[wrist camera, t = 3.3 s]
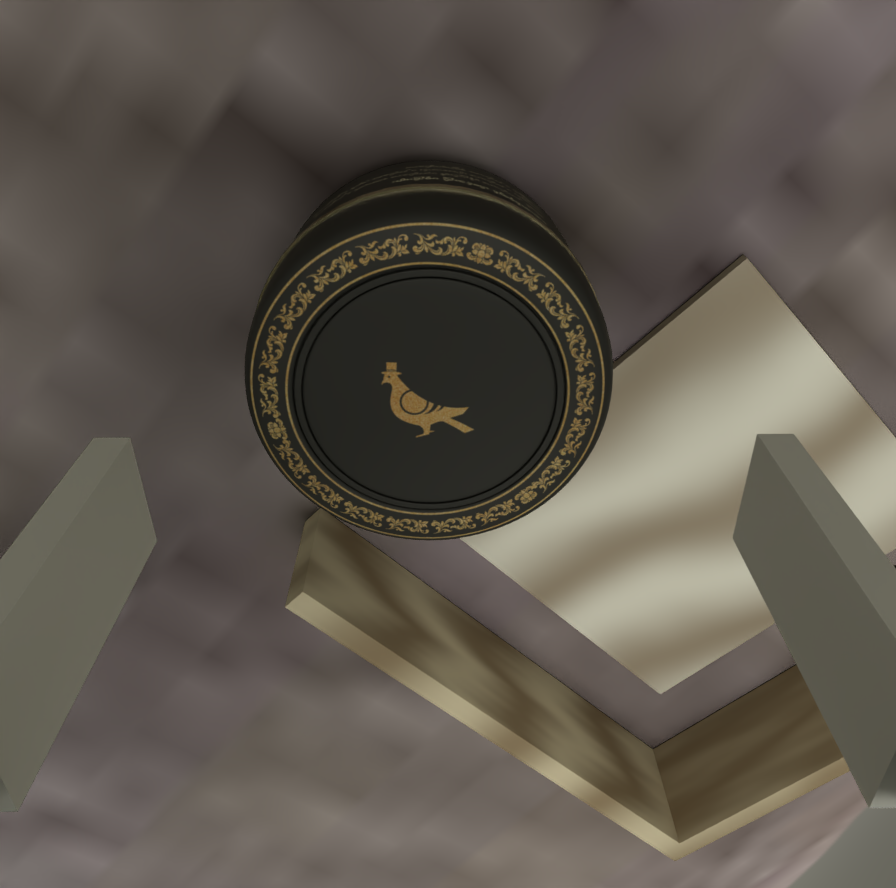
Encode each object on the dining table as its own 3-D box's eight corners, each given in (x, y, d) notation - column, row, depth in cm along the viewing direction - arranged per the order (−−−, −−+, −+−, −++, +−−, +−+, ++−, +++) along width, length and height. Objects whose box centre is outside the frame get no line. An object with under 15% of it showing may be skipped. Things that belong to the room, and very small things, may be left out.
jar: (523, 446, 30) (548, 577, 23) (266, 390, 28) (215, 513, 22) (617, 191, 25) (682, 266, 18) (310, 107, 23) (262, 156, 17)
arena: (305, 521, 31) (284, 607, 27) (694, 167, 24) (748, 208, 20) (649, 767, 40) (675, 861, 36) (1009, 557, 33) (1095, 643, 29)
